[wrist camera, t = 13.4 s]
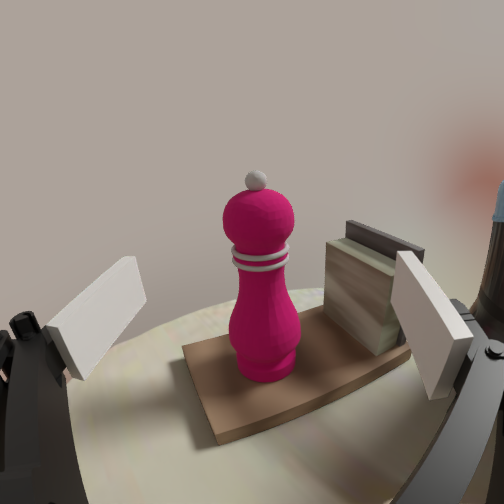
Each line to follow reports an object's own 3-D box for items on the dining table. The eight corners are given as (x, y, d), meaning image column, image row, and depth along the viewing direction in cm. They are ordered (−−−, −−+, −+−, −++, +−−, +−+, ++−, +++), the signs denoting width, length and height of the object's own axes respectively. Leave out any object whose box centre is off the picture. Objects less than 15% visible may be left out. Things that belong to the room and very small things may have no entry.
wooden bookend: (344, 308, 43) (349, 217, 38) (409, 358, 31) (434, 251, 26) (184, 358, 35) (161, 254, 30) (218, 445, 23) (188, 327, 18)
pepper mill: (310, 352, 32) (312, 166, 25) (281, 395, 26) (275, 177, 19) (254, 336, 36) (241, 166, 28) (220, 372, 30) (191, 177, 23)
